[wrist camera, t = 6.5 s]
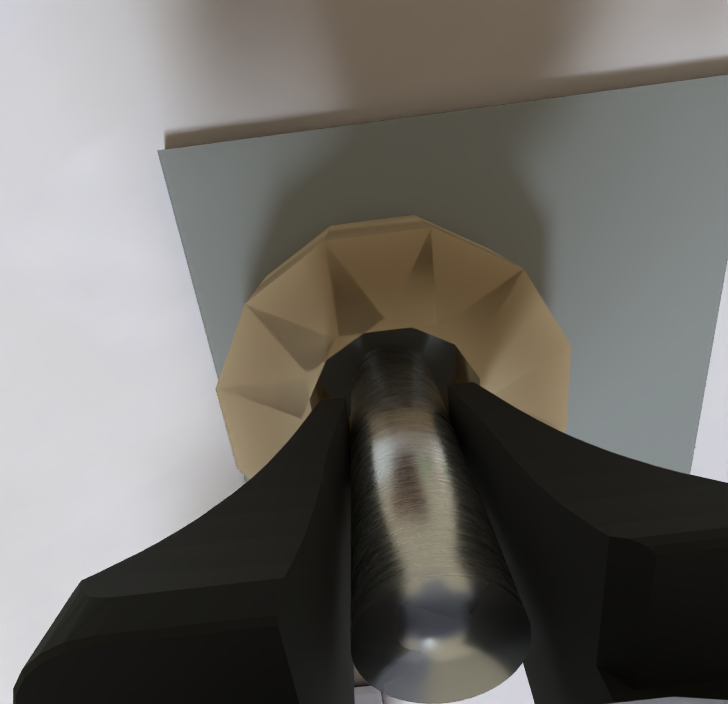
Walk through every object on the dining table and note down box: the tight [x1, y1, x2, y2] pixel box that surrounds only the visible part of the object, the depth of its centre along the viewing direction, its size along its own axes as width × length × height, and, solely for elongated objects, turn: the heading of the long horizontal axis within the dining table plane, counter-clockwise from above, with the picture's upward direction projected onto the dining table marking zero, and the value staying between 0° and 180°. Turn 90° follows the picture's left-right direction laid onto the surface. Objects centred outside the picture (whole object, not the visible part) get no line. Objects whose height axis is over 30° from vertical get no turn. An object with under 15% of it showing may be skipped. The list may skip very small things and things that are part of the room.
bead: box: [216, 215, 571, 479], centre depth 13 cm, size 9×9×3 cm
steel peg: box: [351, 345, 532, 704], centre depth 10 cm, size 2×2×8 cm
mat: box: [158, 75, 728, 482], centre depth 16 cm, size 18×16×1 cm
